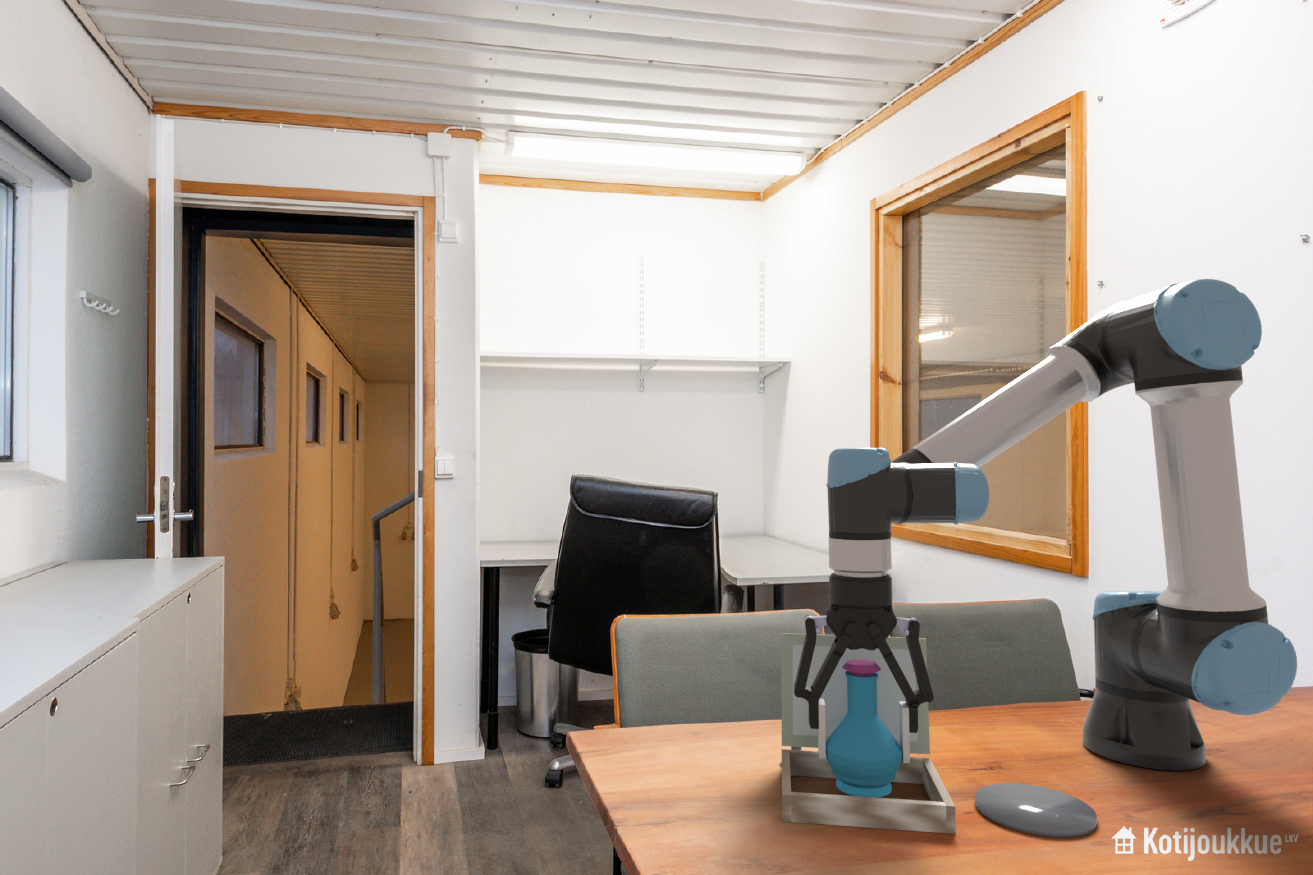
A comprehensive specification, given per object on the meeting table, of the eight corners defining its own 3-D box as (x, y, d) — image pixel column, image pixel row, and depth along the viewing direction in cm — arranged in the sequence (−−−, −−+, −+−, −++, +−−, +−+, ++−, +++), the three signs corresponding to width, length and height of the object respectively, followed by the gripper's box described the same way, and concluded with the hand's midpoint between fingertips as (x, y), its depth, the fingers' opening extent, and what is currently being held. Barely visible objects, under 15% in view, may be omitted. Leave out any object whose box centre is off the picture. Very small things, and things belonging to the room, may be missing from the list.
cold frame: (929, 781, 102) (929, 758, 103) (955, 834, 88) (955, 806, 88) (781, 772, 105) (781, 749, 105) (782, 821, 91) (782, 794, 91)
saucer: (1072, 793, 99) (1072, 787, 99) (1116, 841, 86) (1116, 834, 86) (963, 786, 101) (963, 780, 101) (991, 832, 88) (991, 825, 88)
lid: (930, 754, 102) (928, 753, 103) (926, 638, 105) (925, 638, 106) (781, 745, 105) (781, 744, 106) (781, 633, 108) (781, 632, 108)
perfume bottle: (906, 805, 91) (904, 673, 92) (825, 799, 93) (823, 670, 94) (899, 774, 100) (896, 655, 101) (825, 769, 102) (823, 652, 103)
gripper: (945, 569, 100) (949, 750, 99) (770, 567, 103) (773, 742, 102) (959, 577, 92) (963, 773, 91) (770, 575, 96) (772, 763, 95)
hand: (863, 756), depth 97 cm, fingers closed on perfume bottle, 9 cm apart
